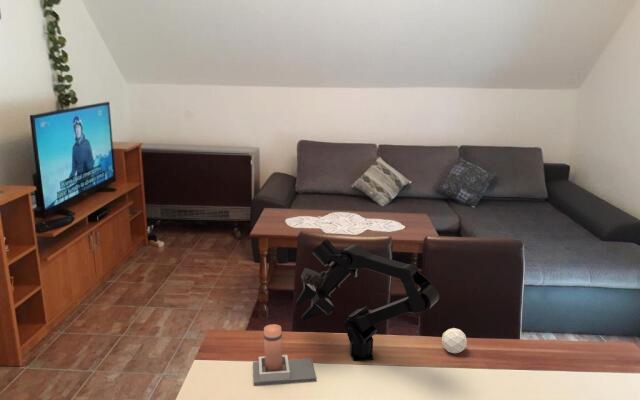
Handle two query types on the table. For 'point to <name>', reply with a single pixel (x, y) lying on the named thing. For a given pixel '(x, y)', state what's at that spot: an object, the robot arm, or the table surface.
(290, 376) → the jig
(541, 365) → the table surface
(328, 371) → the table surface
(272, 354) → the banded pink rod
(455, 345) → the geometric ball
